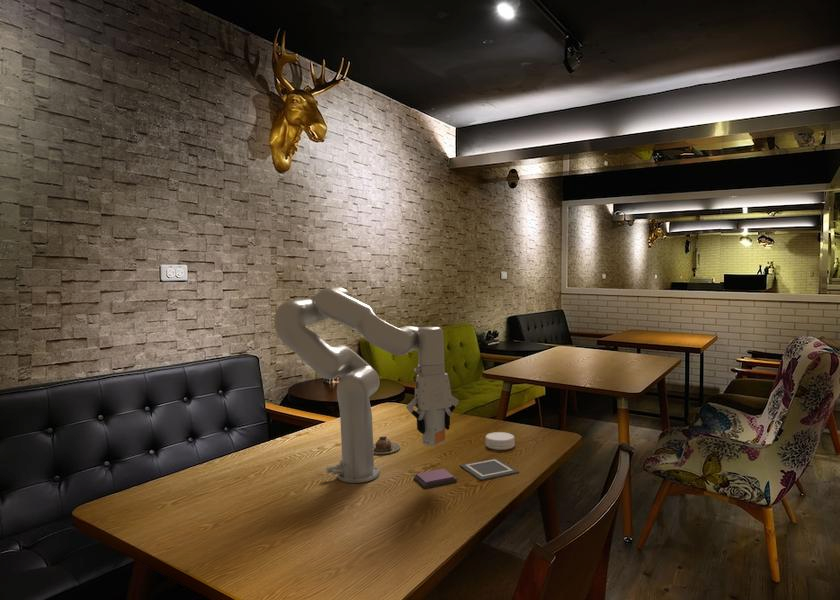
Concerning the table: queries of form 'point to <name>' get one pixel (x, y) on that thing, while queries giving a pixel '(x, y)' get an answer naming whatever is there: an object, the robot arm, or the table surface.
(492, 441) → the white round disc
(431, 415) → the skincare box
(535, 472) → the table surface
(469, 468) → the mat
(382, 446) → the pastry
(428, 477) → the ink pad
